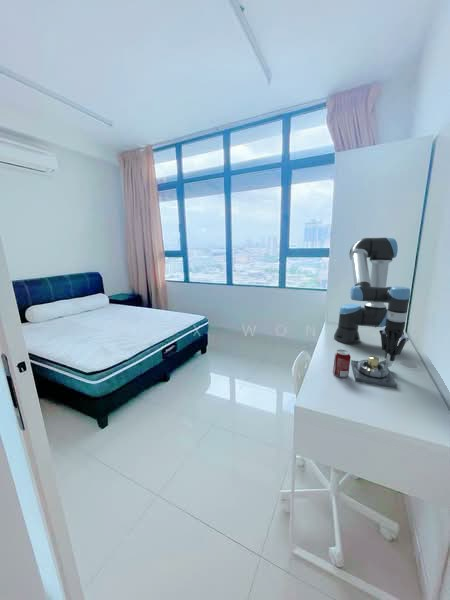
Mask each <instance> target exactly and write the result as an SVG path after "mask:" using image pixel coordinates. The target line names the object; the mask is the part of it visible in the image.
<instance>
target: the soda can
mask: <svg viewBox="0 0 450 600" xmlns="http://www.w3.org/2000/svg"><path fill="white" fill-rule="evenodd" d="M350 366H351V355H350V352H349V351H348V350H346V349H341V348H340V349H336V352H335V353H334V359H333V366H332V374H333V375H335V376H336V377H338V378H347V377H348V376H349V374H350V373H349V371H350Z"/></svg>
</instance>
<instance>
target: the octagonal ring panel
mask: <svg viewBox="0 0 450 600" xmlns="http://www.w3.org/2000/svg"><path fill="white" fill-rule="evenodd" d="M357 361H358V369H359V370H360V371H361V372H363V373H364V374H366V375H370V376H374V377H384V376H387V375H388V371H390V369H389V367H388V366H387V365H386V359H384V360H382V361H379V362H378V368H374V367H373V370H372V369H369V368H367V367H365V366H368V362H369V359H362V360H357ZM378 369H380V370H378ZM388 369H389V370H388Z"/></svg>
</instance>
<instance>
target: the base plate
mask: <svg viewBox="0 0 450 600" xmlns="http://www.w3.org/2000/svg"><path fill="white" fill-rule="evenodd" d="M368 360H369V362H368V366H365V367H367V368H369V369H372V370H373V367H374V368H378V362H380V358H379V357H377V356H374V355H369V356H368ZM358 361H359V360H352V359H350V366H351V369H352V373H353V378H354V380H355V381H354V382H356V383H363V384H367V385H373V386H379V387H386V388H388V389H389V388H390V389H397V387H398V383H397V382H396V380H395V378H394V376H393V375H392V372H391V371H390V369H389V368H388V370H389V371H388V375H387V376H384V377H374V376H370V375H366V374H364V373H363V372H361V371H360V370H359V369H358ZM378 370H380V369H378Z"/></svg>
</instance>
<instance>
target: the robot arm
mask: <svg viewBox="0 0 450 600" xmlns="http://www.w3.org/2000/svg"><path fill="white" fill-rule="evenodd" d="M398 251H399V249H398V242H397V240H396V239H395V238H393V237H364V238H361V239H358V240H357V241H355V243H353V245H352V246H351V248H350V250H349V255H348V256H349V259H350V261H351V266H352V274H353V275H352V276H353V284H354V285H352V287H351V288H350V299H351V300H352V301H355V302H356V301H357V302H366V303H364V306H362V305H361V304H359V303H358V304H357V303H347V304H343V305H341V306H340V308H339V312H338V313H339V316H338V323H337V324H338V326H337V329H336V330H335V333H334V335H333V339H334V340H335V341H337V342H340V343H342V344H348V345H356V344H357V345H358V344H359V343H360V340H361V336H360V331H359V327H360V326H361V327H371V328H384V329H380V330H378V332H379V335H380V340H381V350H382V351H384V352H385V356H384V360H386V365H387V366H388V368H390V367H392V366H393V362H394V361H395V359H396V356H399V355H401V353H402V351H403V349H404V347H405V344H406V343H407V342H408V341H410V339H409V337H406V336H405V333H404V330H405V327H406V320H407V316H408V315H407V314H408V308H409V303H410V298H411V288H409V287H405V286H387V280H388V274H389V273H388V271H389V265H390V263H392V262H393V260H394V259H395V258H397V254H398ZM367 258H368V259H369V262H370V263H371V268H370V269H371V270H370V271H369V265H368V260H367ZM369 272H370V273H369ZM385 303H387V304H388V305H386V304H385Z"/></svg>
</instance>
